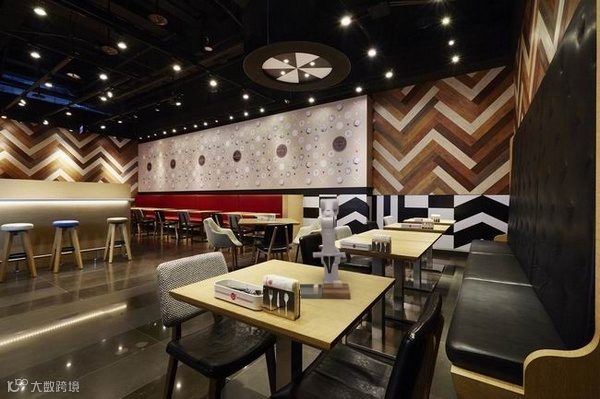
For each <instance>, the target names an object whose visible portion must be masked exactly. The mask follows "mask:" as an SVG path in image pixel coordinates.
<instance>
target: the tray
mask: <svg viewBox="0 0 600 399" xmlns="http://www.w3.org/2000/svg"><path fill="white" fill-rule="evenodd" d="M299 284H300V291H301V294H300V296H301V300H302V299H305V300H306V299H307V300H308V299H309V300H310V299H312V300H323V295H322V293H323V283H317V284H318V286H319V294H314V284H315V283H299Z"/></svg>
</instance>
